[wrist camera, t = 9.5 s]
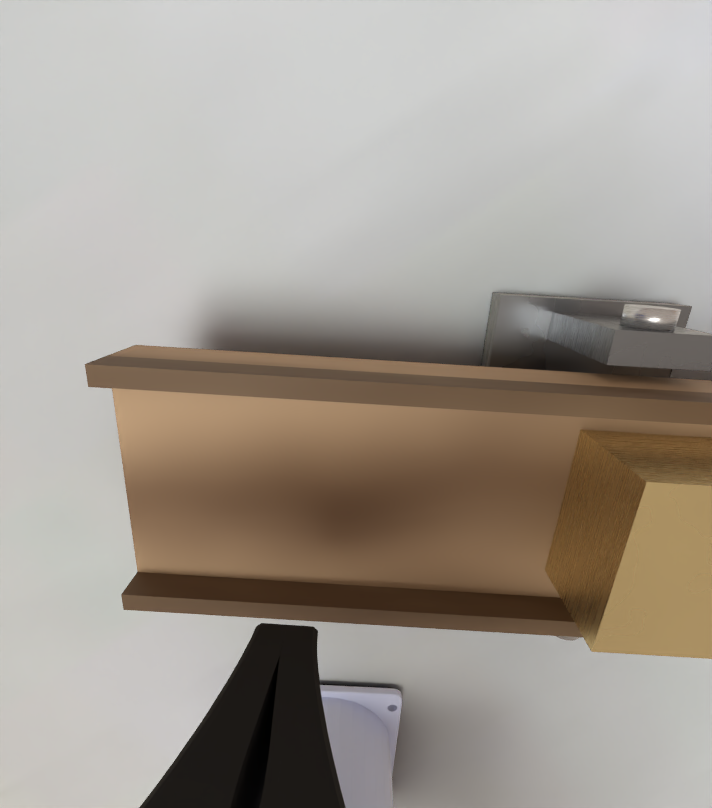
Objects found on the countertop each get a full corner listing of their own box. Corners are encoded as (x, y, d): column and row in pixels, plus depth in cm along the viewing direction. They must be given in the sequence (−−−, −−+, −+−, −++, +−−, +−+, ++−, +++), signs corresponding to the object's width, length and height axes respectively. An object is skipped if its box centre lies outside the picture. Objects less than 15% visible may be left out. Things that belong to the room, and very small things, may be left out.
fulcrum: (595, 559, 20) (667, 651, 16) (451, 552, 20) (479, 642, 15) (673, 300, 16) (802, 318, 11) (493, 289, 16) (548, 303, 11)
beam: (985, 606, 16) (1094, 668, 13) (159, 556, 16) (123, 609, 13) (1127, 406, 13) (1294, 438, 11) (135, 344, 13) (84, 364, 11)
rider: (727, 581, 14) (821, 665, 11) (544, 570, 14) (591, 651, 11) (787, 442, 12) (917, 498, 9) (580, 429, 12) (646, 482, 9)
